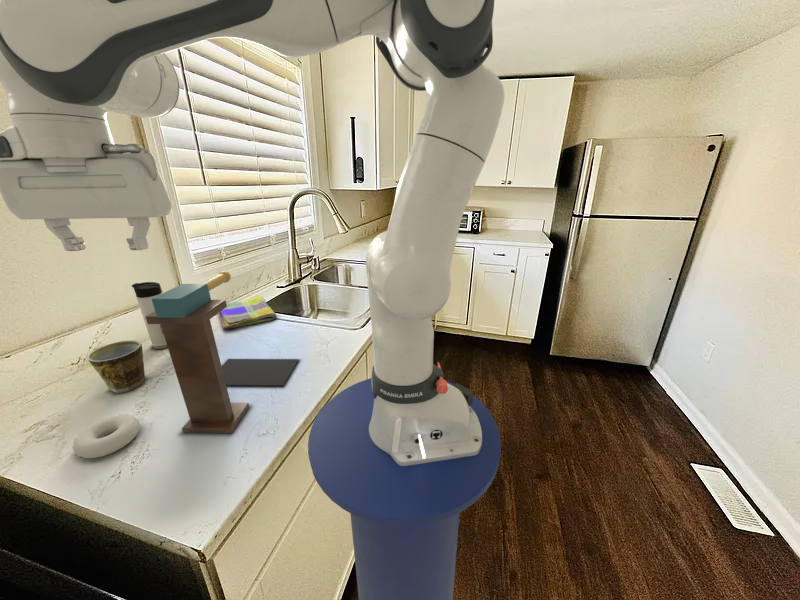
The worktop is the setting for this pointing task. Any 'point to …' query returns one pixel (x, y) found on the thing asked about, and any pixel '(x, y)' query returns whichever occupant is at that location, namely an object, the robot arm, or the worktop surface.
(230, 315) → the dish towel
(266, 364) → the mat
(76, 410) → the worktop surface
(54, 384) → the worktop surface
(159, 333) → the travel mug
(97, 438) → the donut
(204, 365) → the brown wooden pedestal
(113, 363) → the ceramic cup
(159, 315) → the mallet
